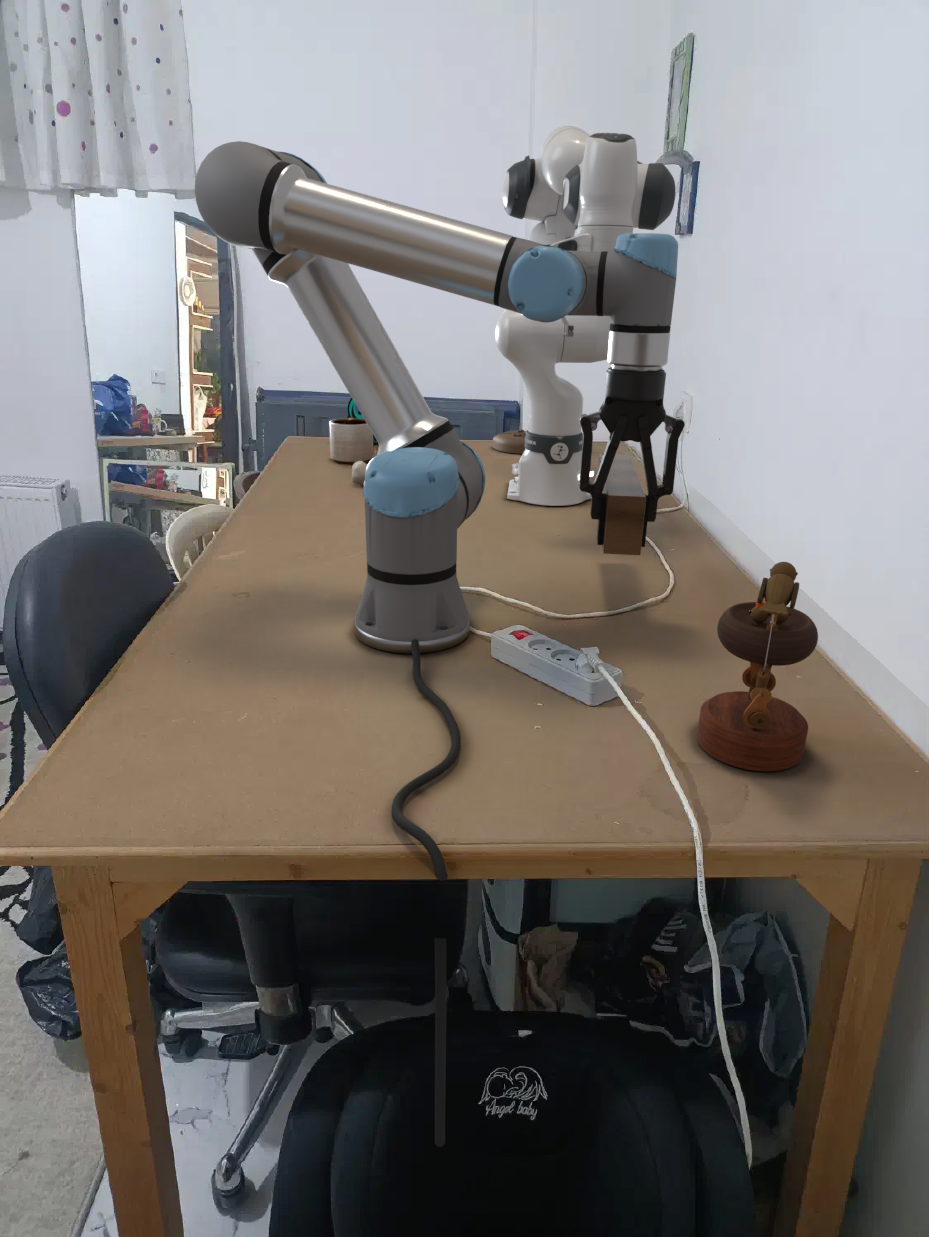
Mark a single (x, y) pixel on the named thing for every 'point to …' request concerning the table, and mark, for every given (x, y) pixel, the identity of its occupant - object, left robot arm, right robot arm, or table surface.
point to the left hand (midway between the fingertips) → (620, 542)
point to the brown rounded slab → (510, 441)
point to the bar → (623, 508)
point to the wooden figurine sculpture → (760, 680)
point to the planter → (350, 440)
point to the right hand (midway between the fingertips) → (597, 337)
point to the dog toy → (358, 472)
